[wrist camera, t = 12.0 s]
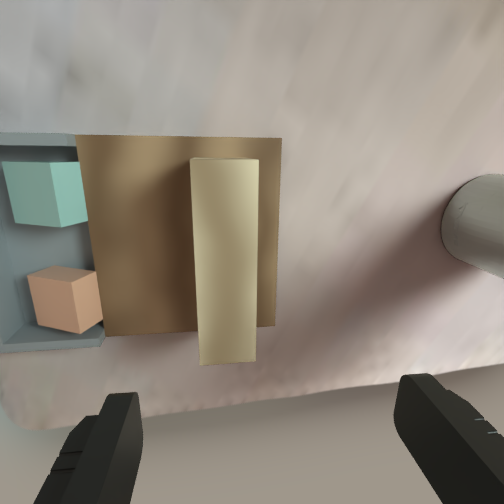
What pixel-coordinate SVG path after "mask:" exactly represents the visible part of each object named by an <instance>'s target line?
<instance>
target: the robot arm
mask: <svg viewBox="0 0 504 504" xmlns="http://www.w3.org/2000/svg"><path fill="white" fill-rule="evenodd" d="M441 233H442V240H443V243H444V245H445V247H446V249H447V250H448V252H449V253H450V254H451V255H453V256H454V257H455V258H457V259H459V260H461V261H464V262H466V263H468V264H471V265H473V266H475V267H478V268H480V269H482V270H484V271H487V272H489V273H491V274H493V275H496V276H498V277H500V278H503V279H504V175H500V174H488V175H484V176H480V177H478V178H476V179H473V180H471V181H470V182H468V183H467V184H465V185H464V186H463V187H462V188H461V189H460V190H459V191H458V192H457V193H456V194H455V195H454V196H453V198H452V199H451V201H450V202H449V204H448V206H447V208H446V210H445V213H444V216H443V219H442V226H441ZM394 423H395V427H396V430H397V432H398V434H399V436H400V438H401V439H402V441H403V442H404V444H405V446H406V447H407V449H408V450H409V452H410V453H411V455H412V456H413V458H414V459H415V461H416V463H417V464H418V466H419V467H420V469H421V470H422V472H423V473H424V475H425V477H426V478H427V480H428V481H429V483H430V484H431V486H432V488H433V489H434V491H435V492H436V494H437V495H438V497H439V498H440V500H441V502H442V503H443V504H504V437H503V436H502V435H501V434H498V433H497V430H496V429H495V428H494V427H493V426H492V425H491V424H490V423H489V422H488V421H485V420H484V417H483V416H482V415H481V414H480V413H479V412H478V411H477V410H476V409H475V408H474V407H473V406H472V405H471V404H470V403H469V402H467V401H466V400H464V399H462V398H461V397H459V396H458V395H457V394H455V393H453V392H452V391H450V390H446V389H445V388H443V386H442V385H441V384H440V383H439V382H438V381H437V380H436V379H435V378H434V377H433V376H432V375H430V374H428V373H424V374H409V375H403V376H402V377H401V379H400V383H399V388H398V393H397V399H396V404H395V409H394ZM142 447H143V429H142V421H141V413H140V405H139V397H138V393H137V392H130V393H115V394H109V395H108V396H107V397H106V399H105V402H104V404H103V406H102V409H101V411H100V413H99V415H92V416H86V417H85V418H84V419H83V420H82V421H81V422H80V423H79V424H78V425H77V426H76V427H75V428H74V429H73V430H72V431H71V432H70V433H69V436H68V437H67V439H66V441H65V443H64V445H63V447H62V449H61V451H60V454H59V457H57V459H56V461H55V463H54V464H53V467H52V468H51V472H50V475H48V476H47V478H46V480H45V482H44V484H43V486H42V488H41V490H40V492H39V494H38V496H37V498H36V500H35V501H34V504H130V501H131V497H132V492H133V488H134V485H135V480H136V476H137V472H138V468H139V463H140V460H141V454H142Z"/></svg>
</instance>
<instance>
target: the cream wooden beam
mask: <svg viewBox="0 0 504 504" xmlns="http://www.w3.org/2000/svg"><path fill="white" fill-rule="evenodd" d="M190 175H191V195H192V216H193V236H194V256H195V276H196V297H197V317H198V337H199V357H200V366H202V365H215V364H228V363H240V362H253V361H256V317H257V251H258V185H259V160H256V159H250V158H214V157H194V158H192V159H190Z"/></svg>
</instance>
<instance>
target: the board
mask: <svg viewBox="0 0 504 504" xmlns="http://www.w3.org/2000/svg"><path fill="white" fill-rule="evenodd" d="M75 140H76V147H77V154H78V160H79V164H80V170H81V177H82V183H83V190H84V196H85V203H86V210H87V216H88V226H89V232H90V239H91V245H92V252H93V259H94V265H95V271H96V275H97V282H98V288H99V295H100V302H101V308H102V315H103V324H104V331H105V337H109V336H125V335H140V334H156V333H172V332H188V331H198V317H197V297H196V276H195V256H194V236H193V216H192V195H191V175H190V159H192V158H194V157H214V158H250V159H256V160H259V185H258V251H257V317H256V327H267V326H275V309H276V282H277V255H278V227H279V200H280V173H281V146H282V138H243V137H184V136H124V135H75Z"/></svg>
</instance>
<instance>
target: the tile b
mask: <svg viewBox="0 0 504 504" xmlns="http://www.w3.org/2000/svg"><path fill="white" fill-rule="evenodd" d="M27 277H28V282H29V286H30V291H31V295H32V300H33V304H34V309H35V313H36V318H37V322H38V325H42V326H46V327H51V328H55V329H60V330H64V331H69V332H73V333H78V334H81V333H83V332H84V331H86V330H87V329H89V328H90V327H92V326H93V325H95V324H96V323H98V322H100V321H101V320H103V315H102V308H101V302H100V295H99V288H98V282H97V275H96V271H90V270H83V269H76V268H70V267H63V266H56V265H54V266H51V267H48V268H46V269H43V270H40V271H38V272H35V273H32V274H29V275H27Z"/></svg>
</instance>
